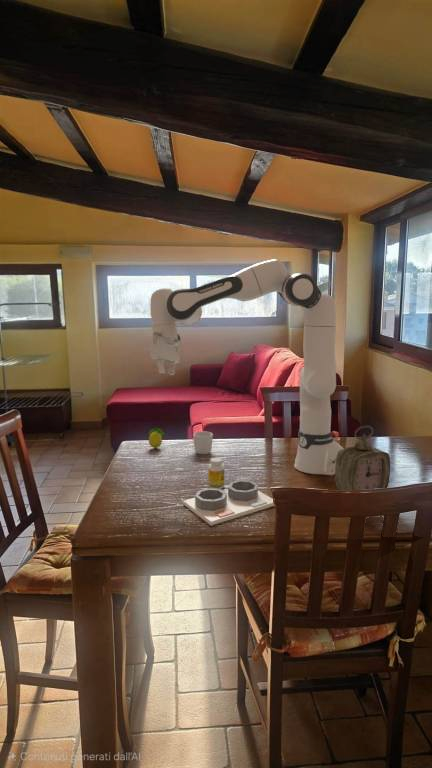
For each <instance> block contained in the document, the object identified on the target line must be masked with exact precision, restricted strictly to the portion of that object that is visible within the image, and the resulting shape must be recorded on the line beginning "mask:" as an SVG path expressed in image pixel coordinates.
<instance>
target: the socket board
mask: <svg viewBox="0 0 432 768" xmlns="http://www.w3.org/2000/svg"><path fill="white" fill-rule="evenodd" d="M273 499H274V498H272V497H270V496H269V495H267V494H265V493H263V492H261V491H260V490H259V484H257V483H256V482H254V481H252V480H243V479H239V480H234V481H231V482H229V484H228V487H227V488H226V489H222V488H221V489H212V488H210V487H207V488H203V489H200V490H198V491H197V492H196V494H195V496H194V497H193V498H192V497H191V498H188V499H186V500H183V502H182V503H183V506H185V507H186V508H188V510H190V511H192V513H194V514H196V515H197V516H198V517H199V518H200V519H202V520H203V521H205V523H207V524H208V525H210V526H214V525H217V524H221V523H224V522H226V521H230V520H233V519H236V518H239V517H242V516H246V515H249V514H253V513H256V512H258V511H261V510H265V509H268V508H271V507H274V504H273Z"/></svg>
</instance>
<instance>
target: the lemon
mask: <svg viewBox="0 0 432 768" xmlns="http://www.w3.org/2000/svg"><path fill="white" fill-rule="evenodd" d="M148 436H149V437H148V444H149V446H150V447H152V448H154V449H155V450H156V449H158V448H160V446H161V445H162V442H163V438H162V436H164V431H163V430H162V429H161V428H157V427H156V428H153V429H150V430H149V432H148Z"/></svg>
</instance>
